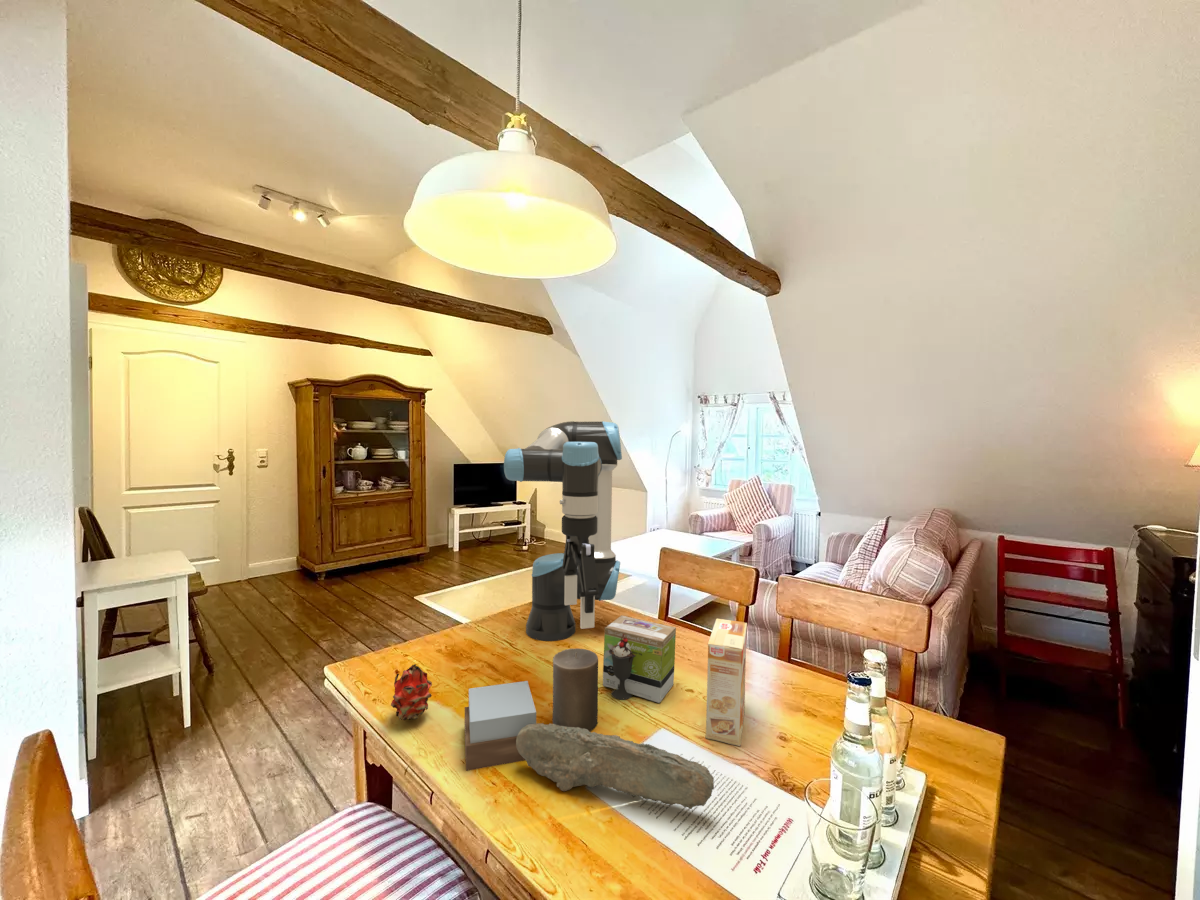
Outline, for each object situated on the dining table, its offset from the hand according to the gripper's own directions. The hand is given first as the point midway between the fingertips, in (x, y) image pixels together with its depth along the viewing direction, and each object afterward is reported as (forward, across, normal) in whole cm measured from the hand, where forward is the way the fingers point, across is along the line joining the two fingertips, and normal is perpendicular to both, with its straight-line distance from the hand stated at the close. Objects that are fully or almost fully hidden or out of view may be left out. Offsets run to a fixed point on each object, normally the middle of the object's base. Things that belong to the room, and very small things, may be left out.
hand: (578, 615), depth 103 cm
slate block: (+18, +3, -16) cm, 25 cm away
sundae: (+23, -7, +13) cm, 27 cm away
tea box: (+23, -9, +18) cm, 30 cm away
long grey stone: (+23, +22, 0) cm, 31 cm away
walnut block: (+23, +3, -16) cm, 29 cm away
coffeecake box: (+23, +9, +30) cm, 39 cm away
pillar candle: (+23, 0, 0) cm, 23 cm away
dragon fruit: (+23, -10, -34) cm, 42 cm away
